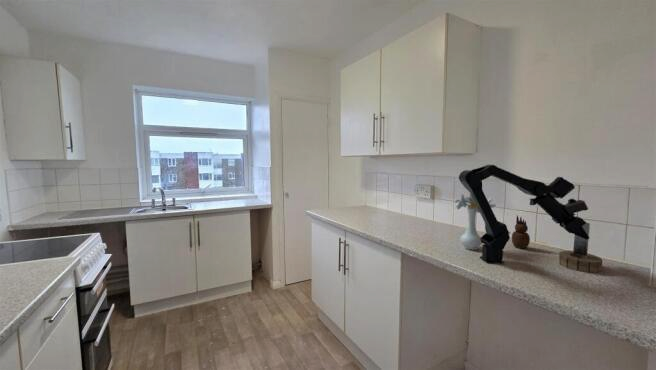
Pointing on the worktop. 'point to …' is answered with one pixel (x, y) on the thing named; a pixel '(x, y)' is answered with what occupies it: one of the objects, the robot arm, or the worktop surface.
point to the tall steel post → (581, 242)
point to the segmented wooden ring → (580, 262)
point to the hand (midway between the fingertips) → (586, 237)
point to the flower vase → (470, 222)
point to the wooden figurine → (520, 234)
